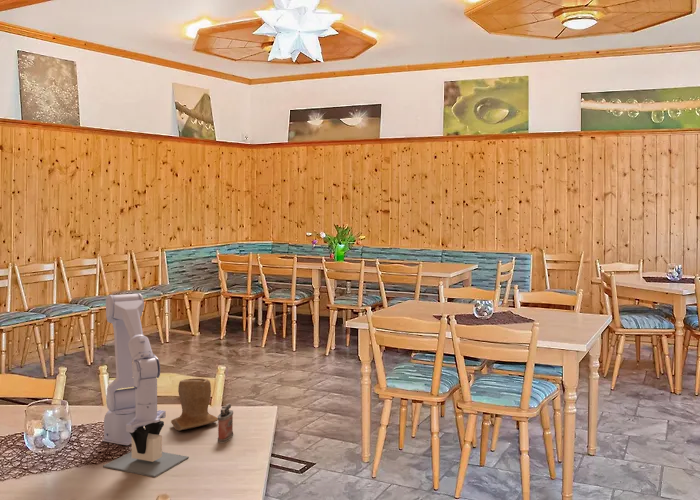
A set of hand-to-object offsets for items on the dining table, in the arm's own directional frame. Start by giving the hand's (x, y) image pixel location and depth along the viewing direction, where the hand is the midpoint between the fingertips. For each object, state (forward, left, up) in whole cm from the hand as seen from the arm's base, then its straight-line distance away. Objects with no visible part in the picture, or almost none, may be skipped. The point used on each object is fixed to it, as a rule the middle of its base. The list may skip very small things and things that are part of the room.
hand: (146, 450), depth 196 cm
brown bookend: (-7, +32, -4) cm, 33 cm away
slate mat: (0, 0, -3) cm, 3 cm away
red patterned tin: (+9, +26, -4) cm, 28 cm away
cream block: (0, 0, -2) cm, 2 cm away
